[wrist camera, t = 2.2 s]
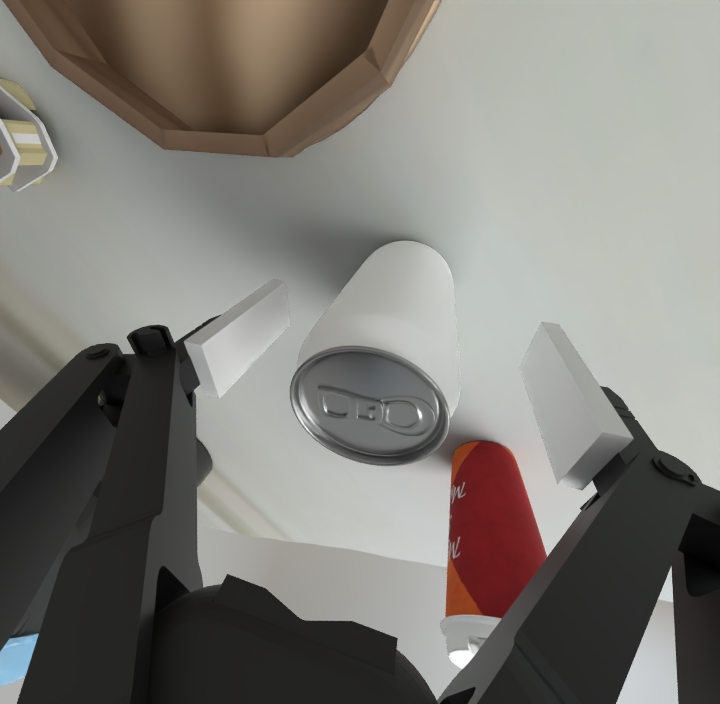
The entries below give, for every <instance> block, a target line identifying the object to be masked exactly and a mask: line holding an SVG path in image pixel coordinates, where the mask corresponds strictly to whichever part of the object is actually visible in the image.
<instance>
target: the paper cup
mask: <svg viewBox="0 0 720 704" xmlns="http://www.w3.org/2000/svg"><path fill="white" fill-rule="evenodd" d="M546 558H547V555H546V552H545V549H544V546H543V542H542V539H541V536H540V533H539V530H538V527H537V523H536V520H535V517H534V514H533V511H532V508H531V505H530V501H529V498H528V495H527V492H526V489H525V486H524V483H523V480H522V477H521V474H520V471H519V468H518V465H517V462H516V460H515V457H514V455H513V454H512V452H511V451H510V450H508V449H507V448H506V447H504V446H502V445H500V444H497V443H493V442H488V441H473V442H469V443H466V444H463V445H461V446H460V447H458V448H457V449H456V450H455V452H454V454H453V461H452V474H451V495H450V519H449V543H448V569H447V593H446V594H447V595H446V618H444V619H443V620H442V621H441V623H440V626H441V630H442V633H443V634H444V636H445V637H446V644H447V652H448V656H449V658H450V660H451V661H452V662H453V663H454V664H455V665H457V666H458V667H460V668H461V669H463V668H464V667H465V666H466V665H467V664H468V663H469V662H470V661H471V659H472V658H473V657H474V655H475V654H476V653H477V651H478V650H479V649H480V647H481V646H482V645H483V643H484V642H485V641H486V639H487V638H488V637H489V635H490V634H491V633H492V631H493V630H494V629H495V627H496V626H497V624H498V623H499V622H500V620H501V619H502V618H503V616H504V615H505V614H506V612H507V611H508V610H509V608H510V607H511V606H512V604H513V603H514V602H515V600H516V599H517V597H518V596H519V595H520V593H521V592H522V591H523V589H524V588H525V587H526V585H527V584H528V583H529V581H530V580H531V579H532V577H533V576H534V574H535V573H536V572H537V570H538V569H539V568H540V566H541V565H542V564H543V562H544V561H545V560H546Z"/></svg>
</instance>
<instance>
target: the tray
mask: <svg viewBox="0 0 720 704" xmlns="http://www.w3.org/2000/svg"><path fill="white" fill-rule="evenodd" d="M3 2H4V3H5V4H6V6H7V7H8V8H9V10H10V11H11V12H12V14H13V15H14V17H15V18H16V19H17V21H18V22H19V23H20V25H21V26H22V27H23V29H24V30H25V32H26V33H27V34H28V36H29V37H30V38H31V40H32V41H33V42H34V44H35V45H36V46H37V48H38V49H39V51H40V52H41V53H42V55H43V56H44V57H45V59H46V60H47V61H48V63H49V64H50V66H51V67H52V68H54V69H55V70H57V71H58V72H59V73H61V74H62V75H63V76H65V77H66V78H67V79H69V80H70V81H72V82H73V83H74V84H76V85H77V86H78V87H80V88H81V89H82V90H84V91H85V92H87V93H88V94H89V95H91V96H92V97H93V98H95V99H96V100H97V101H99V102H100V103H102V104H103V105H104V106H106V107H107V108H108V109H110V110H111V111H112V112H114V113H115V114H117V115H118V116H119V117H121V118H122V119H123V120H125V121H126V122H127V123H129V124H130V125H131V126H133V127H134V128H136V129H137V130H138V131H140V132H141V133H142V134H144V135H145V136H146V137H148V138H149V139H151V140H152V141H153V142H155V143H156V144H157V145H159V146H160V147H161V148H163V149H168V150H182V151H196V152H209V153H223V154H237V155H251V156H264V157H294V156H295V155H297V154H298V153H300V152H301V151H302V150H304V149H305V148H306V147H308V146H310V145H312V144H315V143H317V142H320V141H322V140H324V139H326V138H327V137H329V136H331V135H332V134H334V133H336V132H337V131H339V130H341V129H342V128H344V127H345V126H346V125H348V124H349V123H350V122H351V121H352V120H354V119H355V118H356V117H357V116H358V115H360V114H361V113H362V112H363V111H365V110H366V109H367V108H368V107H369V106H370V105H371V104H372V102H373V101H374V100H375V99H376V98H377V97H378V96H379V95H380V94H381V93H383V92H384V91H385V90H387V89H388V88H389V87H391V85H392V83H393V81H394V79H395V77H396V75H397V73H398V72H399V70H400V69H401V68H402V66H403V65H404V63H405V62H406V61H407V59H408V58H409V57H410V55H411V54H412V52H413V51H414V49H415V47H416V46H417V44H418V42H419V40H420V39H421V37H422V35H423V34H424V32H425V30H426V28H427V27H428V25H429V23H430V22H431V20H432V18H433V16H434V15H435V13H436V11H437V9H438V7H439V4H440V2H441V0H3Z"/></svg>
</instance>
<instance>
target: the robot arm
mask: <svg viewBox="0 0 720 704" xmlns="http://www.w3.org/2000/svg"><path fill="white" fill-rule="evenodd" d="M289 325H290V315H289V306H288V296H287V287H286V281H282V280H276V279H273V280H271V281H270V282H268V283H267V284H266V285H264V286H263V287H261V288H260V289H258V290H257V291H255V292H254V293H253V294H251V295H250V296H248V297H247V298H245V299H244V300H242V301H241V302H240V303H238V304H237V305H235V306H234V307H232V308H231V309H229V310H228V311H227V312H225V313H224V314H222V315H219V316H216V317H213V318H211V319H209V320H207V321H206V322H204V323H203V324H202V326H201V325H200V326H199V327H197V328H196V329H195V330H193V331H191V332H190V333H188V334H187V335H185V336H184V337H182V338H181V339H179V340H178V341H176V342H175V343H174V341H173V339H172V336H171V334H170V331H169V329H168V327H166V326H163V325H150V326H146V327H142V328H139V329H137V330H134V331H133V332H131V333H130V334H129V335H128V336H127V339H128V341H129V343H130V345H131V347H132V349H133V351H134V353H135V354H122V352H121V350H120V348H119V346H118V345H116V344H112V343H105V344H97V345H95V346H94V345H93V346H90V347H89V348H87V349H85V350H83V351H81V352H80V353H78V354H77V355H76V356H75V357H74V358H73V359H72V360H71V361H70V362H69V363H68V364H67V365H66V366H65V367H64V368H63V369H62V370H61V371H60V372H59V373H58V374H57V375H56V376H55V377H54V378H53V379H52V380H51V381H50V382H49V383H48V384H47V385H46V386H45V387H44V388H43V389H41V390H40V391H39V392H38V393H37V394H36V395H35V396H34V397H33V398H32V399H31V400H30V401H29V402H28V403H27V404H26V405H25V406H24V407H23V408H22V409H21V410H20V411H19V412H18V413H17V414H16V415H15V416H14V417H13V418H12V419H11V420H10V421H9V422H8V423H7V424H6V425H5V426H4V427H3V428H2V429H1V430H0V686H4V685H7V684H10V683H12V682H15V681H17V680H19V679H21V678H23V677H24V676H25V679H24V683H23V686H22V689H21V693H20V695H19V699H18V702H17V704H616V702H617V699H618V697H619V694H620V692H621V689H622V687H623V684H624V682H625V679H626V677H627V675H628V672H629V670H630V667H631V664H632V661H633V659H634V657H635V654H636V652H637V649H638V647H639V645H640V642H641V640H642V637H643V635H644V632H645V630H646V627H647V625H648V622H649V620H650V617H651V615H652V612H653V610H654V607H655V605H656V602H657V600H658V597H659V595H660V592H661V590H662V587H663V585H664V582H665V580H666V577H667V575H668V572H669V570H670V567H671V565H672V583H673V603H674V622H675V642H676V662H677V680H678V681H677V682H678V701H679V704H720V491H718V490H716V489H714V488H711V487H709V486H707V485H704V484H702V482H701V480H700V479H699V477H698V476H697V474H696V473H695V472H694V471H693V470H692V469H691V468H690V467H689V466H688V465H686V464H685V463H683V462H682V461H680V460H679V459H677V458H676V457H674V456H672V455H670V454H668V453H665V452H663V451H659V450H658V449H657V448H656V447H655V445H654V444H653V442H652V441H651V440H650V438H649V437H648V435H647V434H646V433H645V431H644V430H643V428H642V427H641V425H640V424H639V423H638V421H637V420H635V417H634V416H633V414H632V413H631V411H628V410H629V409H628V407H627V406H626V404H625V403H624V402H623V400H622V399H621V398H620V397H619V396H618V395H617V394H615V393H614V392H613V391H612V390H611V389H609V388H607V387H602V386H599V384H598V383H597V381H596V380H595V378H594V377H593V375H592V374H591V372H590V371H589V369H588V368H587V366H586V365H585V363H584V361H583V360H582V358H581V357H580V355H579V354H578V352H577V351H576V349H575V348H574V346H573V345H572V343H571V342H570V340H569V339H568V337H567V335H566V334H565V332H564V331H563V329H562V328H561V326H560V325H559V324H553V323H546V322H541V324H540V326H539V328H538V330H537V332H536V334H535V336H534V338H533V340H532V342H531V344H530V346H529V348H528V350H527V352H526V354H525V356H524V358H523V360H522V362H521V364H520V366H519V369H520V372H521V375H522V378H523V381H524V384H525V387H526V390H527V393H528V396H529V399H530V402H531V405H532V408H533V411H534V414H535V417H536V420H537V423H538V426H539V430H540V433H541V436H542V439H543V442H544V445H545V448H546V451H547V454H548V457H549V460H550V463H551V466H552V469H553V472H554V475H555V478H556V481H557V484H560V485H564V486H568V487H572V488H576V489H580V490H583V489H584V488H585V487H586V486H587V485H588V484H589V483H590V482H591V481H592V480H593V482H594V485H595V487H596V489H597V491H598V492H597V493H596V494H595V495H594V496H592V497H591V498H590V499H589V500H588V501H587V502H586V503H585V504H584V505H583V506H582V507H581V508H580V509H581V510H582V511H581V512H580V514H579V515H578V516H577V518H576V519H575V520H574V522H573V523H572V525H571V526H570V527H569V529H568V530H567V531H566V533H565V534H564V535H563V537H562V538H561V539H560V541H559V542H558V543H557V545H556V546H555V547H554V549H553V550H552V552H551V553H550V554H549V556H548V557H547V558H546V560H545V561H544V562H543V564H542V565H541V566H540V568H539V569H538V570H537V572H536V573H535V574H534V576H533V577H532V579H531V580H530V581H529V583H528V584H527V585H526V587H525V588H524V589H523V591H522V592H521V593H520V595H519V596H518V597H517V599H516V600H515V602H514V603H513V604H512V606H511V607H510V608H509V610H508V611H507V612H506V614H505V615H504V616H503V618H502V619H501V620H500V622H499V623H498V624H497V626H496V627H495V629H494V630H493V631H492V633H491V634H490V635H489V637H488V638H487V639H486V641H485V642H484V643H483V645H482V646H481V647H480V649H479V650H478V651H477V653H476V654H475V655H474V657H473V658H472V659H471V661H470V662H469V663H468V664H467V665H466V666H465V667H464V668H463V669H462V670H461V671H460V672H459V673H458V675H457V676H456V677H455V678H454V679H453V680H452V682H451V683H450V685H449V686H448V687H447V688H446V690H445V691H444V692H443V693H442V695H441V696H440V697H439V699H438V700H436V698H435V696H434V694H433V693H432V691H431V690H430V688H429V686H428V685H427V683H426V681H425V680H424V679H423V677H422V676H421V674H420V673H419V672H418V670H416V668H415V667H414V666H413V665H412V664H411V663H410V661H409V660H408V659H407V658H406V657H405V656H404V655H403V654H401V653H400V652H399V651H398V650H397V649H396V648H397V638H395V637H393V636H390V635H387V634H385V633H382V632H380V631H377V630H374V629H372V628H369V627H366V626H364V625H361V624H358V623H356V622H353V621H305V620H302V619H300V618H299V617H297V616H296V615H295V614H294V613H293V612H292V611H291V610H289V609H288V608H287V607H286V606H285V605H284V604H283V603H282V602H280V601H279V600H278V599H277V598H276V597H275V596H274V595H272V594H271V593H270V592H269V591H268V590H267V589H265V588H263V587H260V586H258V585H255V584H252V583H250V582H247V581H244V580H242V579H239V578H236V577H234V576H231V575H228V574H227V576H226V578H225V580H224V582H223V583H222V584H220V585H213V586H208V587H204V588H203V581H202V575H201V571H200V567H199V563H198V556H197V487H198V486H199V485H200V484H201V483H202V482H203V481H204V479H205V478H206V477H207V475H208V474H209V473H210V471H211V470H212V460H211V458H210V455H209V454H208V452H207V450H206V449H205V448H204V446H203V445H202V444H201V443H200V442H199V441H198V440H197V439H196V395H195V393H194V389H195V388H197V387H198V386H199V385H200V386H201V388H202V391H203V394H204V395H207V396H211V397H215V398H219V399H220V398H221V397H222V396H223V395H224V394H225V393H226V391H227V390H228V389H229V388H230V387H231V386H232V385H233V384H234V383H235V382H236V381H237V380H238V379H239V378H240V377H241V376H242V375H243V374H244V373H245V372H246V370H247V369H248V368H249V367H250V366H251V365H252V364H253V363H254V362H255V361H256V360H257V359H258V358H259V357H260V356H261V355H262V354H263V353H264V352H265V351H266V349H267V348H268V347H269V346H270V345H271V344H272V343H273V342H274V341H275V340H276V339H277V338H278V337H279V336H280V335H281V334H282V333H283V332H284V331H285V330H286V328H287V327H288V326H289ZM98 396H100V398H101V399H102V400H101V402H100V403H99V404H98Z"/></svg>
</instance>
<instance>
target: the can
mask: <svg viewBox="0 0 720 704" xmlns="http://www.w3.org/2000/svg"><path fill="white" fill-rule="evenodd" d="M460 390H461V370H460V355H459V342H458V330H457V318H456V306H455V295H454V285H453V278H452V274H451V271H450V268H449V266H448V265H447V263H446V261H445V260H444V259H443V257H442V256H441V255H440V254H439V253H438V252H436V251H435V250H434V249H432V248H431V247H429V246H427V245H425V244H422V243H419V242H414V241H396V242H392V243H389V244H386V245H384V246H382V247H380V248H379V249H377V250H376V251H374V252H373V253H372V254H371V255H370V256H369V257H368V258H367V259H366V260H365V262H364V263H363V264H362V265H361V267H360V268H359V269H358V270H357V272H356V273H355V274H354V275H353V277H352V278H351V279H350V281H349V282H348V283H347V284H346V286H345V287H344V288H343V290H342V291H341V292H340V293H339V295H338V296H337V297H336V299H335V300H334V301H333V302H332V304H331V305H330V306H329V308H328V309H327V310H326V312H325V313H324V314H323V315H322V317H321V318H320V319H319V321H318V322H317V323H316V325H315V326H314V327H313V329H312V330H311V332H310V333H309V335H308V336H307V338H306V339H305V341H304V343H303V345H302V347H301V350H300V353H299V357H298V363H297V371H296V372H295V374H294V376H293V378H292V382H291V386H290V400H291V405H292V408H293V411H294V413H295V415H296V417H297V419H298V421H299V422H300V424H301V425H302V426H303V428H304V429H305V430H306V431H307V432H308V433H309V434H310V435H311V436H312V437H313V438H314V439H315V440H316V441H318V442H319V443H320V444H321V445H323V446H324V447H326V448H327V449H329V450H331V451H333V452H334V453H336V454H338V455H340V456H343V457H345V458H348V459H350V460H353V461H357V462H360V463H364V464H369V465H377V466H400V465H406V464H410V463H414V462H417V461H420V460H422V459H424V458H426V457H428V456H429V455H431V454H432V453H434V452H435V451H436V450H437V449H438V448H439V447H440V446H441V445H442V443H443V442H444V440H445V438H446V436H447V434H448V431H449V427H450V418H451V417H452V415H453V413H454V411H455V409H456V407H457V405H458V402H459V398H460Z"/></svg>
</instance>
